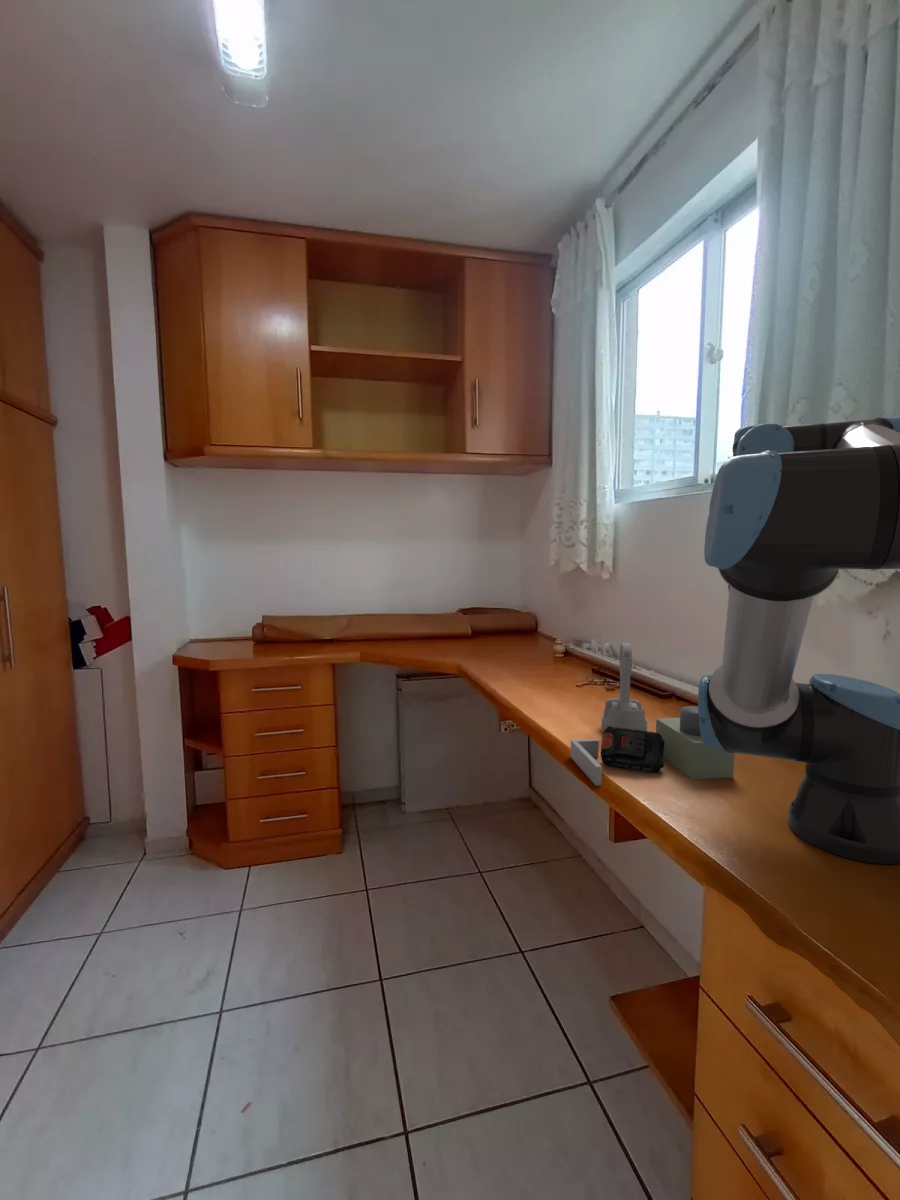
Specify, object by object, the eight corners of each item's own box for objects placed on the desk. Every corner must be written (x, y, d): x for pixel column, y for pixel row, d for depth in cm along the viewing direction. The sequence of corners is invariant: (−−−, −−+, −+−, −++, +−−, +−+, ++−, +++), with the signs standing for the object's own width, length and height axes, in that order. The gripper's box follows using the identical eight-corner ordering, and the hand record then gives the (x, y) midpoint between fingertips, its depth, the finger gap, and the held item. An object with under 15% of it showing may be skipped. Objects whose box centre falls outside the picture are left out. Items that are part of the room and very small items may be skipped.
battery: (598, 767, 111) (596, 757, 105) (605, 728, 114) (604, 717, 109) (660, 783, 106) (662, 774, 100) (666, 742, 110) (668, 731, 104)
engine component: (602, 737, 123) (650, 740, 121) (605, 647, 121) (653, 648, 119) (599, 721, 134) (642, 724, 132) (601, 638, 131) (645, 640, 129)
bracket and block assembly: (733, 777, 102) (736, 719, 101) (596, 785, 99) (597, 726, 97) (691, 749, 116) (693, 698, 114) (569, 755, 112) (570, 703, 111)
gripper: (800, 514, 92) (791, 652, 94) (748, 517, 105) (742, 639, 107) (758, 514, 91) (751, 654, 94) (712, 517, 104) (706, 640, 106)
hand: (746, 646), depth 100 cm, fingers closed
